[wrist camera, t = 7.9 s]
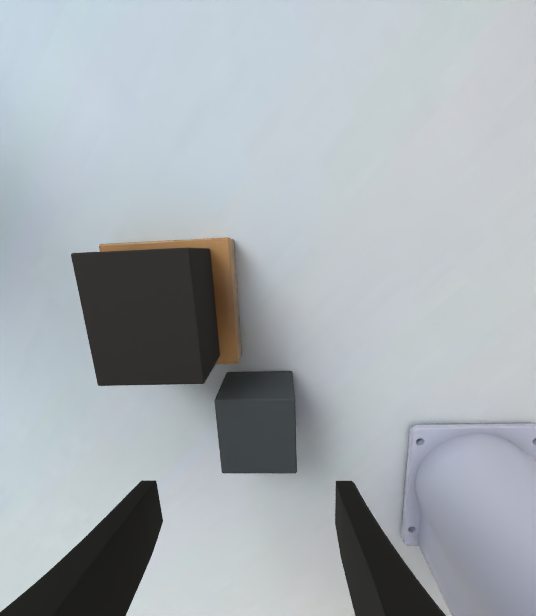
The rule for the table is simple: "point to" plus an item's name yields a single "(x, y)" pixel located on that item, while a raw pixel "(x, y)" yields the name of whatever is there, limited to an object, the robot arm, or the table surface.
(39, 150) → the table surface
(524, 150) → the table surface
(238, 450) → the slate block
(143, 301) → the black block
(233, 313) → the cork pad
